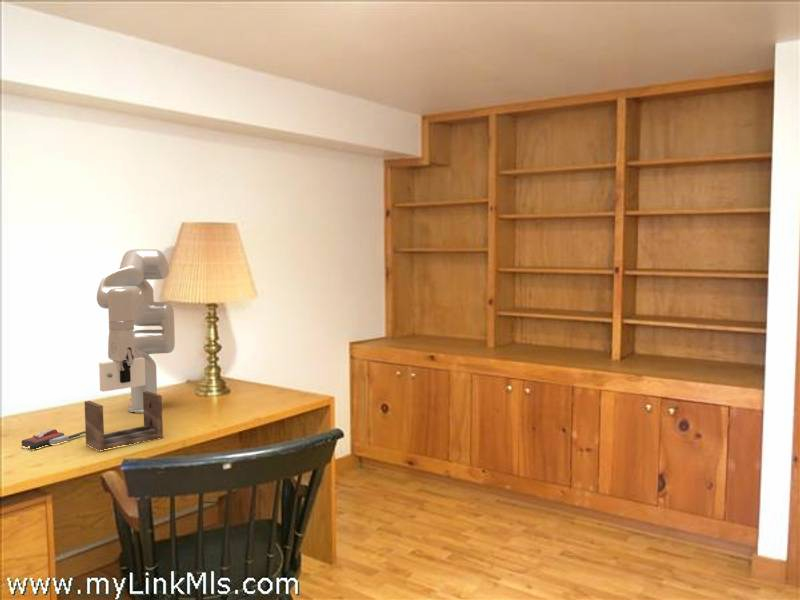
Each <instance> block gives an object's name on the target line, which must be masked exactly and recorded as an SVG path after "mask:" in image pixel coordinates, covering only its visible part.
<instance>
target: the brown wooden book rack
mask: <svg viewBox="0 0 800 600" xmlns="http://www.w3.org/2000/svg"><path fill="white" fill-rule="evenodd" d="M162 397H163V395H161V394H158V393H157V394H155V393H152V392H149V391H145V392H143V408H144V413H143V426H142V425H141V426H138V427H133V428H128V429H122V430H117V431H113V432H108V433H105V429H104V427H105V425H104V405H102V404H99V403H96V402H94V401H91V400H85V401H84V423H85V425H84V426H85V431H86V433H85V445H86V444H87V445H89V446H91V447H93V448H95V449H97V450H99V451H100V450H104V449H108V448H113V447H117V446H122V445H129V444H134V443H137V442H143V441H147V442H149V441H148V440H152V441H154V440H153V439H156V440H159V439H158V438H161V439H163V438H164V433H163V432H164V431H163V430H164V429H163V398H162ZM143 443H144V442H143ZM134 445H135V444H134ZM129 446H130V445H129Z"/></svg>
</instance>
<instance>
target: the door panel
mask: <svg viewBox="0 0 800 600" xmlns="http://www.w3.org/2000/svg"><path fill="white" fill-rule="evenodd" d="M126 360H127V359H125V360H123V361H126ZM124 364H125V363H124ZM98 366H99V373H98V374H99V391H101V392H108V391H114V390H123V389H129V388H130V389H131V387H136V386H143V385H145V358H134V360H133V364H132V365H131V370H130V378H131V381H130V382H126V383H121V382H120V371H121V362H118V361H113V360H111V361H103V362H98Z"/></svg>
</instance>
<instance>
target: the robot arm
mask: <svg viewBox="0 0 800 600" xmlns="http://www.w3.org/2000/svg"><path fill="white" fill-rule="evenodd" d="M121 259H122V260H121V261H120V266H119V269H117V270H115V271H113V272H110V274H106V276H104V277H103V278H102V279H101V281H100V283H99V286H98V288H97V293H96V301H97V304H98V306H99V307H100V308H102V309H105V310H108V311H107V312H108V331H109V333H108V343H107V345H108V346H107V348H108V349H107V351H108V352H107V357H108V359H109V360H111V361H118V362H121V371H120V382H121V383H126V382H130V381H131V378H130V370H131V365H132V364H133V360H134V358H145V385H143V386H136V387H130V396H131V397H130V399H129V400H130V402H131V403H130V405H129V406H127V409H126V410H128V411H127V412H129V413H132V412H135V413H134V414H144V408H143V392H145V391H149V392H152V393H155V394H158V382H157V379H158V377H157V363H156V362H155V360H154V358H152V357H151V356H150V355H153V354H154V355H155V354H157V355H158V354H159V355H160V354H170V353H172V352H173V351H174V349H175V345H176V344H175V343H176V341H175V339H176V337H175V335H176V334H175V312H174V307H173V305H172V304H171V303H170V302H168V301H155V300H154V299H155V298H154V288H153V287H152V285H151V284H150V283H149V281H151V280H165V279H166V278H167V277H168V276H169V272H170V265H169V263H168V260H167V258H166V256H165V254H164V253H163V252H162V251H161V250H159V249H151V248H150V249H149V248H148V249H147V248H145V249H144V248H141V249H139V248H137V249H130V250H127V251H125V253H124V254H123V256H122V258H121ZM135 326H136V327H161V329H136V330H135ZM126 359H127V360H126ZM123 360H126V361H123ZM124 363H125V364H124Z"/></svg>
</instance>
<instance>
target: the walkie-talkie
mask: <svg viewBox="0 0 800 600" xmlns="http://www.w3.org/2000/svg"><path fill="white" fill-rule="evenodd" d="M57 430H58V429H55V428H54V429H53V428H49V429H45V430H41V431H40V432H39V434H33V435H32V437H29V438H25V439H22V440H21V447H22V446H25V447H28V446H30V449H36V448H39V447H42V446H45V445H51V444H57V443H61V442H64V441H68V440H69V439H70V440H71V439H74V437H75V438H77V436H78V437H80V436H82V435H86V430H84V431H81V432H78V433H75V434H71V435H65V433H64V432H58V431H57ZM70 440H69V441H70ZM30 449H29V450H30Z"/></svg>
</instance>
